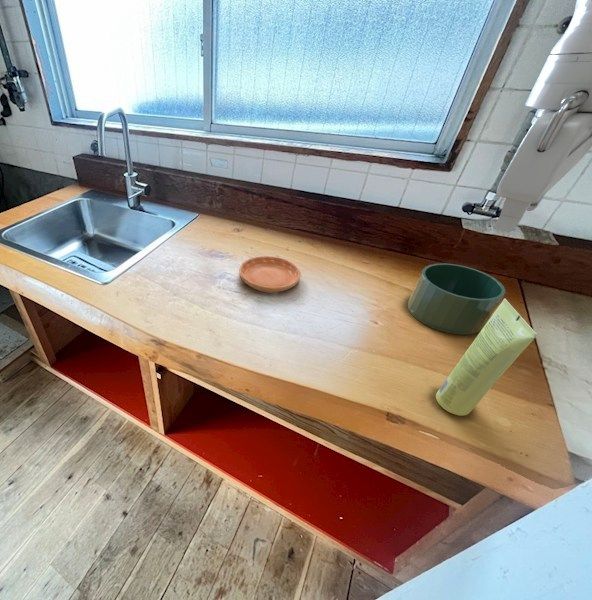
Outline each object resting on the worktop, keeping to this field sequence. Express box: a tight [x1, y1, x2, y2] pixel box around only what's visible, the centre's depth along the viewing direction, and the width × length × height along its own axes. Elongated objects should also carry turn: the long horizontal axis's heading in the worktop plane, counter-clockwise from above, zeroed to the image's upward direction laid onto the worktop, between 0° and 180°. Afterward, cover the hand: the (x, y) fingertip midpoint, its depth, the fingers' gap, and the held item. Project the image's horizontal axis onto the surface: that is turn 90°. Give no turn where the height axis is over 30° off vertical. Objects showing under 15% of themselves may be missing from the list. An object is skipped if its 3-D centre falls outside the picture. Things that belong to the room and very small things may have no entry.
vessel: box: [407, 262, 506, 336], centre depth 70 cm, size 14×14×9 cm
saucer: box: [238, 255, 302, 294], centre depth 86 cm, size 16×16×3 cm
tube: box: [435, 298, 538, 417], centre depth 48 cm, size 6×5×20 cm
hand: (515, 218), depth 41 cm, fingers open, 8 cm apart
